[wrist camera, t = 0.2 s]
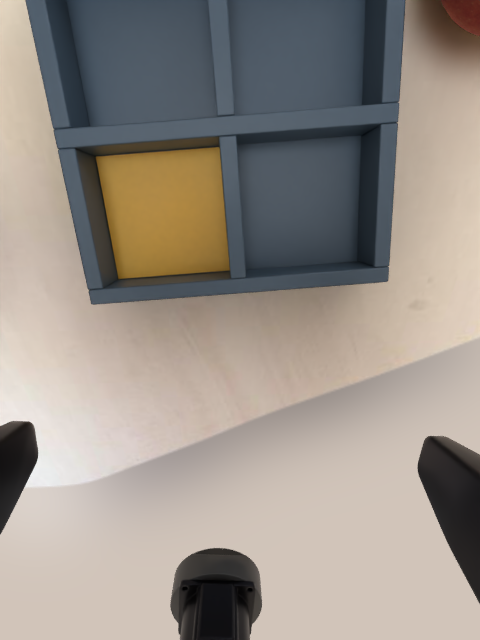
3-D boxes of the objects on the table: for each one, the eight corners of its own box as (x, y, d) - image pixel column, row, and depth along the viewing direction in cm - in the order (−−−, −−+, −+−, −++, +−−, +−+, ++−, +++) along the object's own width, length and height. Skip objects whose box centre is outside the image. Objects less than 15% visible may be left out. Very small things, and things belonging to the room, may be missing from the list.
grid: (364, 271, 21) (388, 282, 18) (112, 290, 21) (90, 305, 18) (377, -56, 16) (413, -122, 13) (49, -30, 16) (5, -89, 13)
